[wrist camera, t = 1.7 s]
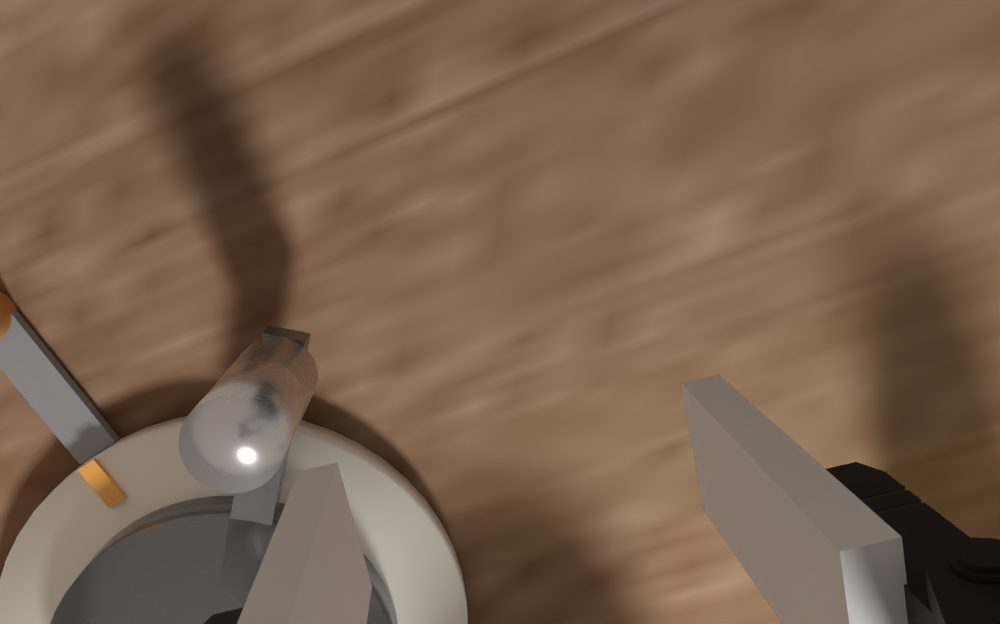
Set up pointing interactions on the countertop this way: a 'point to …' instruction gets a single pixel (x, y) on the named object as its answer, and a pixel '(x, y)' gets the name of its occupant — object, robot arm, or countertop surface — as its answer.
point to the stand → (165, 480)
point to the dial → (213, 503)
